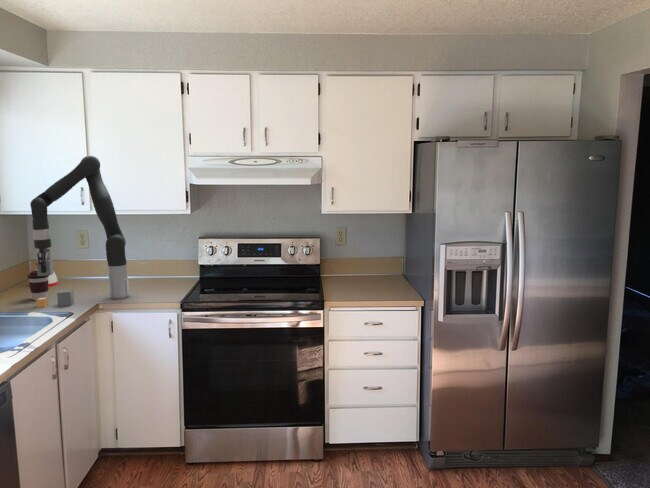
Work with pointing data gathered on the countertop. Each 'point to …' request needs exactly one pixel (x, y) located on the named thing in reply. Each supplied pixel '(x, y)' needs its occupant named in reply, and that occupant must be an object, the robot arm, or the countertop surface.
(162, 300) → the countertop surface
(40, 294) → the coffee cup
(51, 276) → the kitchen timer
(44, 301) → the letter cube
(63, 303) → the matte grey cube
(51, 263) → the plain grey cube
